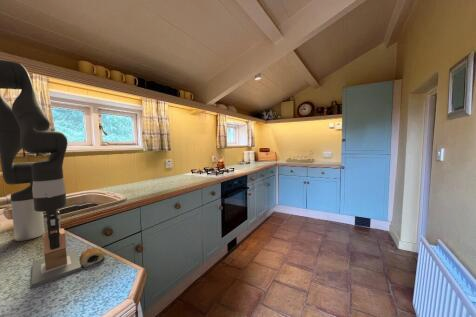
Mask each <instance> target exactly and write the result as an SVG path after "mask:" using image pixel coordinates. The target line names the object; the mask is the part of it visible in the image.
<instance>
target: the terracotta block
mask: <svg viewBox="0 0 476 317" xmlns="http://www.w3.org/2000/svg"><path fill="white" fill-rule="evenodd" d="M56 232H57V230H55V231H51V232H50V234H52V233H56ZM59 233H60V236H59V243H60V247H59V248H57V249H53V250H51V249H50V242H49V238H48V232H47V231H46V232H45V233H43V235H42V240H43V248H44V249H43V253H44V252H45V254H47V253H50V252H54V251H57V250H61V249H64V248H66V249H67V242H66V241H67V240H66V232H65V228H63V227H62V228H59Z"/></svg>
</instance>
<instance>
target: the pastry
mask: <svg viewBox="0 0 476 317" xmlns="http://www.w3.org/2000/svg"><path fill="white" fill-rule="evenodd" d="M105 255H106V254H105V252H104V251H103V250H102V249H101V248H98V247H93V248H87V249H86V250H84V251H83V252H82V253H81V255H80V256H79V258H78V259H79V261H80V264H81V268H84V267H85V268H86V267H89V266H92V265H94V264H96V263H100V262H101V261H103V259H104V258H105Z"/></svg>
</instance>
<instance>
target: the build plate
mask: <svg viewBox="0 0 476 317" xmlns="http://www.w3.org/2000/svg"><path fill="white" fill-rule="evenodd" d="M66 255H67V264H64V265H61V266H58V267H55V268H52V269H49V270H46V266H45V257H44V258H42V259H38V260H34V261H32V267H31V268H32V270H31V281H30V282H31V283H30V286H31V289H33V288H36V287H38V286H41V285H44V284H46V283H49V282H53V281H54V280H57V279H60V278H63V277H66V276H68V275H71V274H74V273H77V272H79V271H82V268H83V267H82V266H81V262H80V260H79V259H80V258H79V255H78V253H77V250H76V249H71V250H68V251H67V250H66Z"/></svg>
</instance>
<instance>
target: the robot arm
mask: <svg viewBox="0 0 476 317" xmlns="http://www.w3.org/2000/svg"><path fill="white" fill-rule="evenodd" d="M0 89H3V90H4V89H5V90H21V91H20V93H19V94H18V96H17V97H16V98H15V99H14V101H13V103H12V105H10V103H8V101H7V100H6V99H5V98H4V97H3V95H2V94H1V93H0V166H1V172H2V178H3V181H4V182H5V184H7V185H9V186H10V185H11V186H12V185H21V184H29V185H28V186H27V187H26V188H23V189H21V190H19V191H16V192H13V193H11V194H10V205H11V213H12V223H13V224H12V225H13V233H14V241H16V242H22V241H28V240H33V239H35V238H38V237H41V236H43V233H46V232H48V238H49V242H50V249H51V250H53V249H57V248H59V247H60V243H59V236H60V233H59V229H61V217H62V216H61V212H60V211H57V210H58V209H63V208H65V207H66V206H67V203H68V202H67V193H66V184H65V179H64V172H63V171H64V170H63V165H64V164H63V163H64V159H65V155H66V152H67V148H68V138H67V136H66V135H65V134H64V133H63V132H62V131H61V132H60V131H58V130H57V131H56V130H49V128H50V126H51V124H50V121H49V118H48V117H47V115H46V114H45V112H44V110H43V108H42V107H41V104H40V101H39V99H38V96H37V93H36V89H35V88H34V84H33V82H32V79H31V76H30V75H29V72H28V69H27V68H26V67H25V66H24V64H22V63H20V62H18V61H17V62H15V61H10V60H3V59H0ZM22 150H23V151H25V152H26V153H29V154H34V155H35V154H37V155H38V154H49V156H48V157H47V159H43V160H40V161H29V162H26V161H25V162H24V161H23V162H14V160H15V158H16V156H17V155H18V153H19V152H20V151H22ZM44 212H45V214H44ZM55 230H57V232H56V233H52V234H50V232H51V231H55ZM45 231H46V232H45Z"/></svg>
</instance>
